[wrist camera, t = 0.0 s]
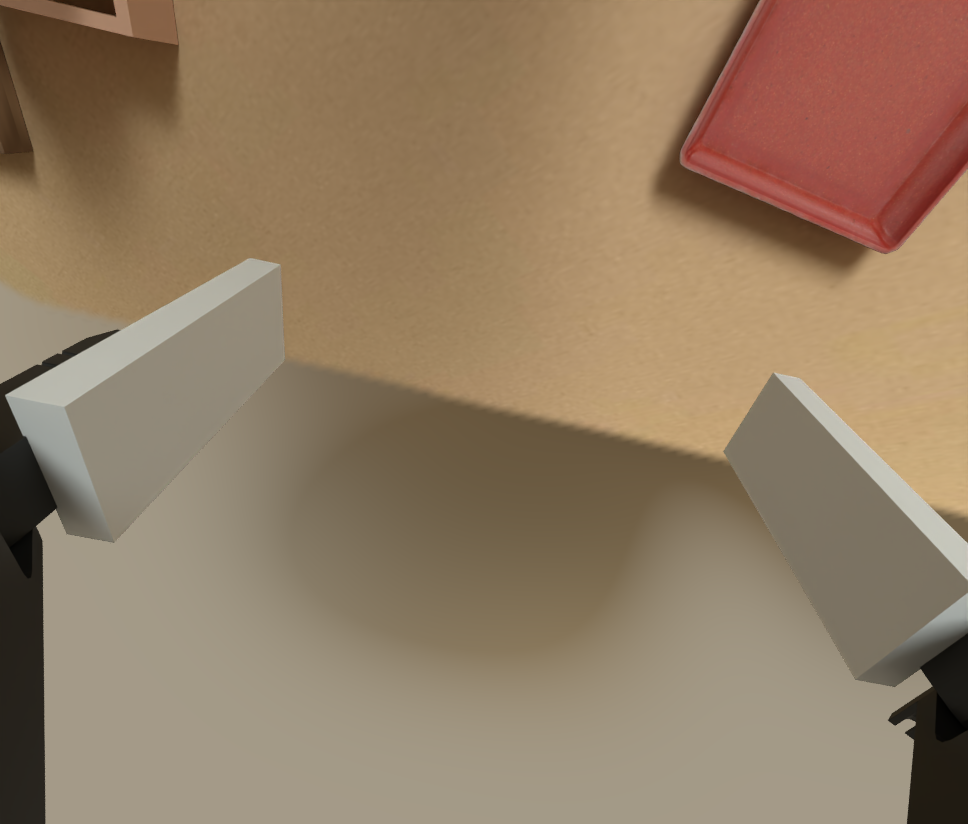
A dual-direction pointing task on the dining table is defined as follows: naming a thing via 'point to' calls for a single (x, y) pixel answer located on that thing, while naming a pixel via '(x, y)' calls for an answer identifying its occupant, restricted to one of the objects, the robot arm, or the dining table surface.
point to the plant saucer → (842, 113)
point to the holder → (112, 17)
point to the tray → (11, 115)
